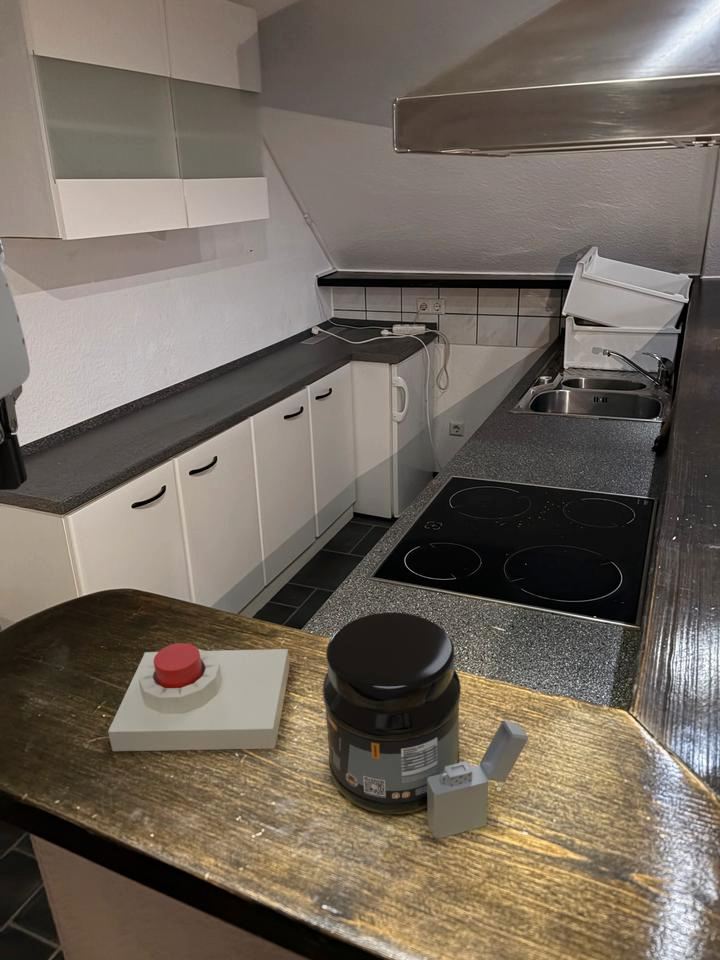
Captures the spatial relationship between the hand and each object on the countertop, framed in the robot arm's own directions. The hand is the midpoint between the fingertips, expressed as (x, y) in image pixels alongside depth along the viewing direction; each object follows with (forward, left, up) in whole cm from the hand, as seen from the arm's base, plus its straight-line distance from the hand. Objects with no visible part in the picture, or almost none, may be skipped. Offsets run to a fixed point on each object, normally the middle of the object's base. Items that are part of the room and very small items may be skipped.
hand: (3, 485), depth 60 cm
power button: (+11, +1, -19) cm, 22 cm away
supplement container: (+30, -7, -23) cm, 39 cm away
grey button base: (+13, +1, -23) cm, 27 cm away
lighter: (+36, -12, -23) cm, 45 cm away
